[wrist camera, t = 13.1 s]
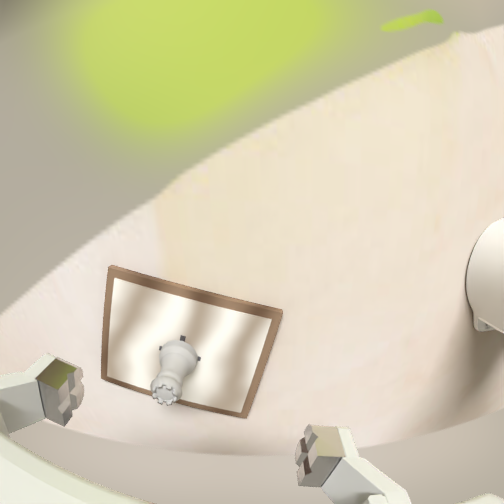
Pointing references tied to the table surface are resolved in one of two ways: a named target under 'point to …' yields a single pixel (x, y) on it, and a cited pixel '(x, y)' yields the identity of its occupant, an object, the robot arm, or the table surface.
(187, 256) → the table surface
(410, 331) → the table surface
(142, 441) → the table surface
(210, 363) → the brown-bordered mat
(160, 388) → the rook chess piece
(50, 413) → the robot arm
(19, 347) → the table surface
